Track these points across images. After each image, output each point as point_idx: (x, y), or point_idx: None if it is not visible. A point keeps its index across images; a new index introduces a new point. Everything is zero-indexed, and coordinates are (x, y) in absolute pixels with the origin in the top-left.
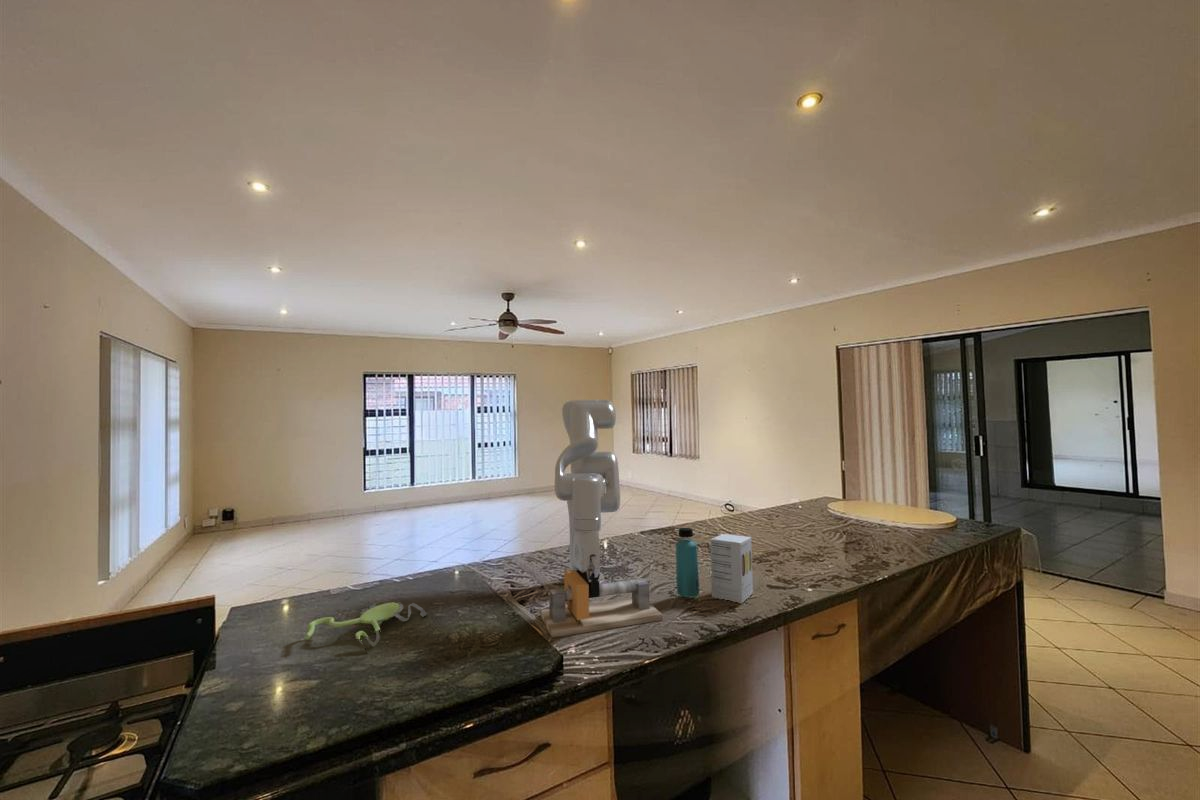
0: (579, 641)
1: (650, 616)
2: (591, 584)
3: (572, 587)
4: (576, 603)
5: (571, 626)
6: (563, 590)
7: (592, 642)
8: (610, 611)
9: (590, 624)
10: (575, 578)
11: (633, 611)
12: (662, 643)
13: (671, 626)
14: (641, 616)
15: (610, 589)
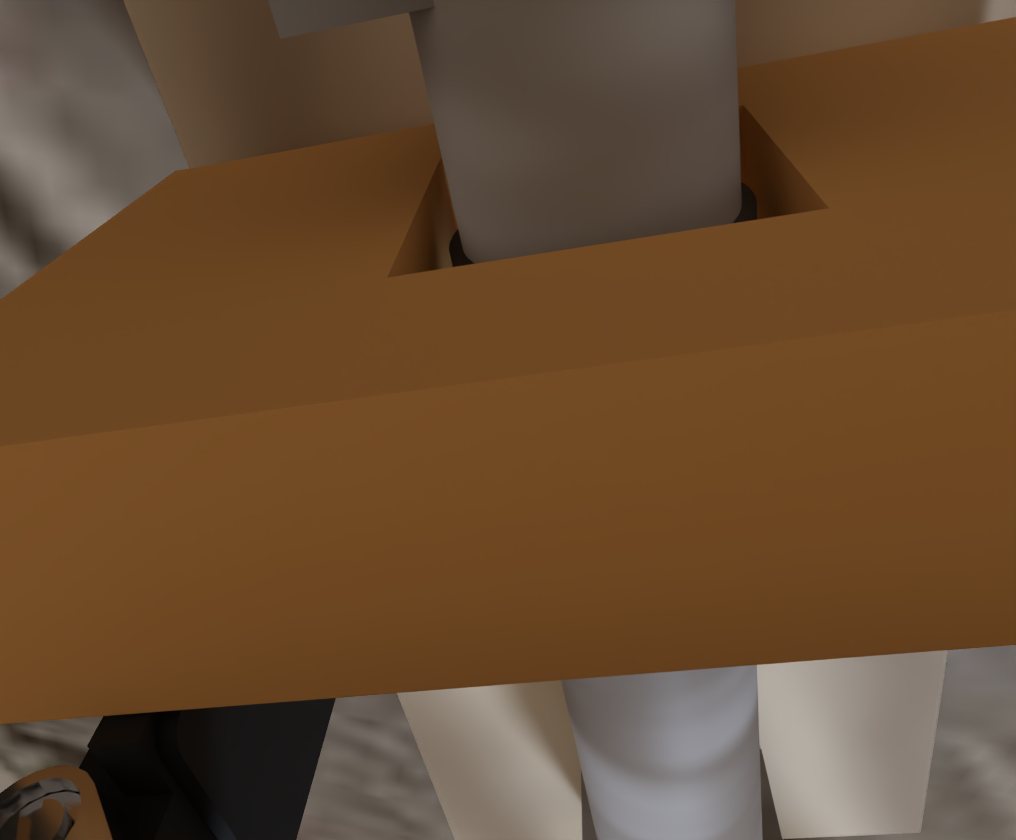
0: (7, 126)
1: (438, 789)
2: (88, 761)
3: (327, 308)
4: (93, 256)
5: (200, 58)
6: (497, 3)
7: (8, 268)
8: None
9: None
10: (546, 523)
11: (559, 721)
12: (78, 727)
13: (352, 822)
14: (433, 746)
15: (589, 796)
